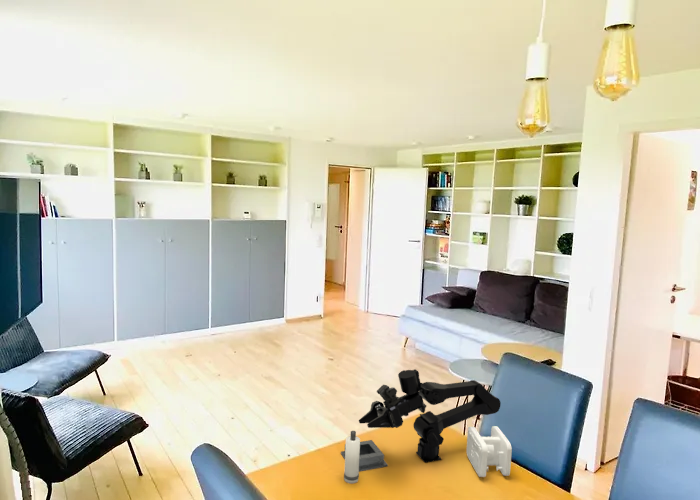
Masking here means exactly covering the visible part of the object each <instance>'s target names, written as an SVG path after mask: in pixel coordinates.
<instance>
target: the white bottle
mask: <svg viewBox="0 0 700 500" xmlns="http://www.w3.org/2000/svg"><path fill="white" fill-rule="evenodd" d="M360 442H361V438H360V437H358V436H357V431H356V430H351V431H350V435H349V436H347V437H346V438H345V444H346V447H345V446H344V451H345V459H344V471H343V472H344V473H343V480H344V482H346V483H347V484H357V483H358V481H359V478H360V472H359V454H360Z"/></svg>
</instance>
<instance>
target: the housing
mask: <svg viewBox="0 0 700 500" xmlns="http://www.w3.org/2000/svg"><path fill="white" fill-rule="evenodd" d="M345 447H346V443H345V444H344V448H345ZM340 454H341V457H343V459H344V460H345V450H342V451H340ZM388 466H389V465H388V463H387V462H386V461H385V454H384V453H383V451H381V449H380V448H379V447H378V445H377V444H375V441H373V439H369V440H364V441H360V454H359V473H361V472H364V471H371V470H376V469H381V468H387V467H388Z"/></svg>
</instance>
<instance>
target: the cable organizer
mask: <svg viewBox="0 0 700 500" xmlns="http://www.w3.org/2000/svg"><path fill="white" fill-rule="evenodd" d="M490 431H491V432H490V436H489V435H488V436H482V435H480V433H479V432H478V430H477V428H476V427H475V426H468V427H467V437H466V438H467V439H466V455H467V456H466V457H467V458H468V460H469V462H470V463H471V465H472V467H473V469H474V471H475V472H476V474H477V476H478V477H479V478H486V477H487V472H489V466H495V467H496V468H495V469H496V472H499V471H500V472H501V474H502V476H508V477H509V476H510V475H511V463H512V453H513V452H512V451H513V448H512V445H511V442H510V441H509V439H508V438H507V437H506V435H505V434H504V432H503V431H502V430H501V429H500V428H499V426H497V425H496V426H495V425H493V426H491V430H490ZM498 470H499V471H498Z"/></svg>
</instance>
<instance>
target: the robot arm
mask: <svg viewBox="0 0 700 500" xmlns="http://www.w3.org/2000/svg"><path fill="white" fill-rule="evenodd" d="M397 377H398V381H399V385H400V390H401V392H402V393H403V395H401V396H397V392H398V390H397V389H396V388H395V387H390V386H388V385H386V384H382V385H381V386H380V387H379V388H378V389H377V390H376V393H377V394H378V395H379V396H380V397H381V398H382V400H383V402H381V401H380V400H379V401H378V400H374V401H373V402H372V403H371V405H370V410H369V411H368V412H367V413H366V414H364V415H363V416H362V417H361V418H360V419H359V420H358V422H359V424H366V426H367V428H368V429H370V428H371V429H372V428H373V429H374V428H375V429H376V428H378V429H380V428H381V429H382V428H383V429H384V428H386V429H387V428H388V429H390V428H391V429H394V428H396V429H397V428H400V427H402V426H403V423H404V420H403V417H408V416H409V414H411V413H413V412H415V411H417V410H418V411H420V412H421V413H420V414H419V416H417V417H416V418H415V419H414V422H413V429H414V431H415V432H416V434H417V435H418V436H419V437H420V438H419V441H418V444H417V450H416V451H415V453H416V455H417V456H418V457H419V459H421V460H422V461H423V462H424V463H425V464H427V463H430V462H431V463H432V462H437V461H441V460H442V457H441V456H440V445H443V442H444V439H445V438H444V437H443V436H442V433H443V431H444V430H445V429H446V428H450V427H452V426H454V425H456V424H459V423H461V422H463V421H466V420H468V419H470V418H473V417H476V416H478V415H480V416H489V415H492V414H496V413H498V412H499V411H500V408H501V400H500V398H498V397H497V396H495V395H493V394H492V393H491V392H489V391H488V390H487V389H486V387H485V386H484V385H483V384H482V383H480V382H478V381H477V380H475V379H474V380H473V379H471V380H470V381H460V382H453V383H452V382H451V383H439V382H433V381H425V382H421V379H420V372H419V370H418V369H412V370H411V369H406V370H404V369H403V370H402V371H399V372H398V374H397ZM469 396H473V397H472V400H470V401H468V402H466V403H464V404H461V405H458V406H456V407H454V408H451V409H448V410H445V411H443V412H442V413H439V414H435V413H433V412H432V411H431V410H430V411H429V410H428V411H426V408H427V404H429V405H432V406H435V405H439V404H443V403H444V402H445V401H446V400H447V399H452V398H460V397H469ZM424 401H426V402H427V404H426V403H424ZM425 411H426V412H425Z"/></svg>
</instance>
